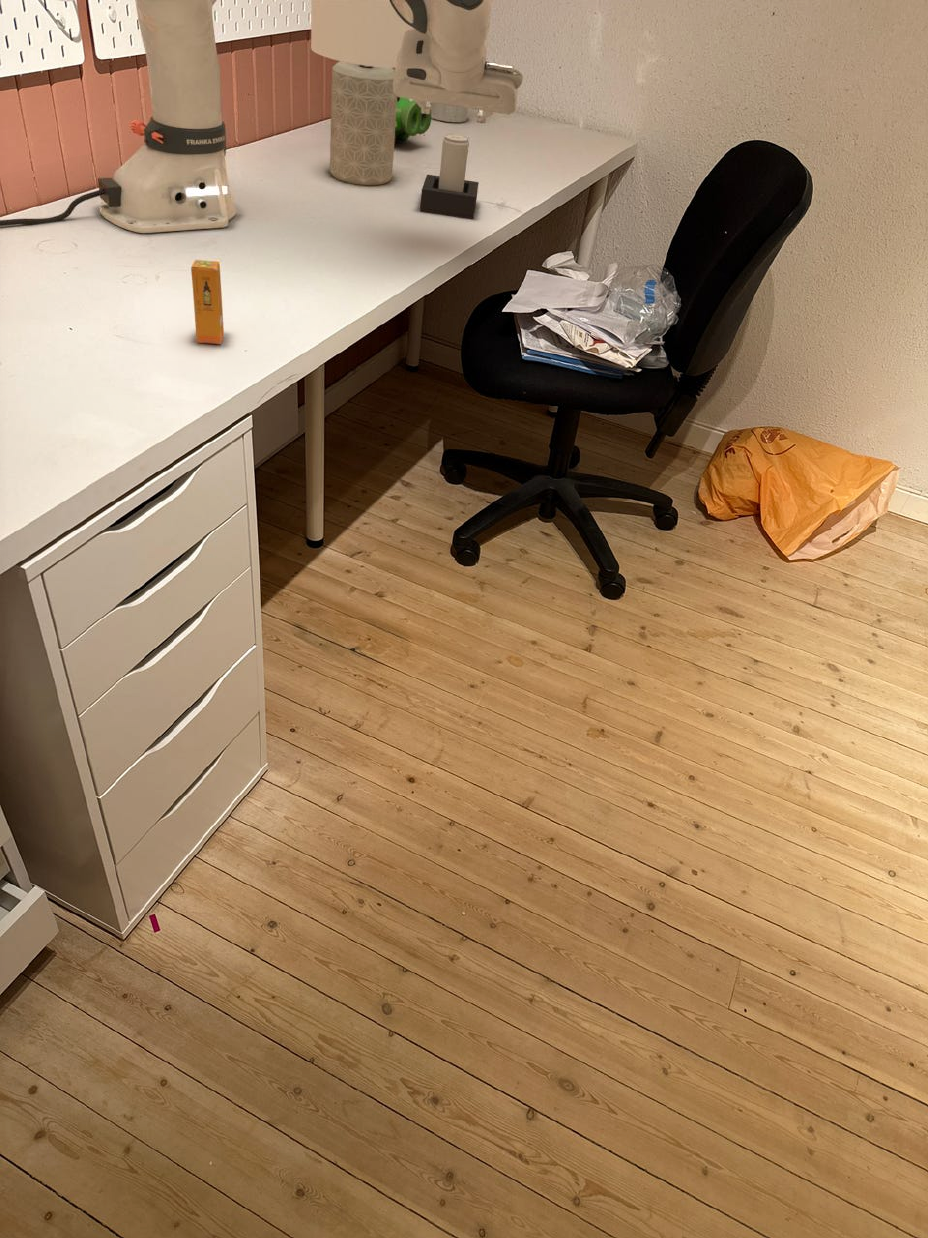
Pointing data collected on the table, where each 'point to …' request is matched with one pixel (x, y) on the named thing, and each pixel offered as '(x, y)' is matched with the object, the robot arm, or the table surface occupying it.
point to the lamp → (360, 84)
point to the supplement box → (207, 301)
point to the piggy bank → (410, 119)
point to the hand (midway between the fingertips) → (453, 114)
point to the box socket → (448, 199)
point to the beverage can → (453, 162)
